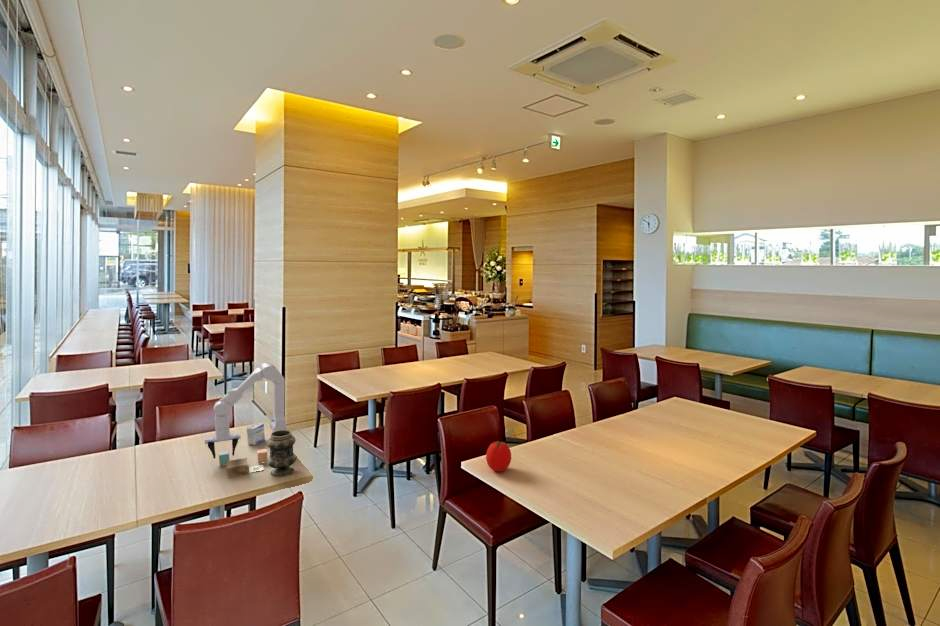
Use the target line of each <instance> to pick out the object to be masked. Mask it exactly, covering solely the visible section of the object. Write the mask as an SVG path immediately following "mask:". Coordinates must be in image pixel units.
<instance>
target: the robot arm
mask: <svg viewBox="0 0 940 626" xmlns="http://www.w3.org/2000/svg"><path fill="white" fill-rule="evenodd" d="M264 379H265V380H268V381H271V382H272V383H273V405H272V407H273V413H272V417H271V421H270V423H269V427H270V429H271V430H272V431H271V433H272V432H274V431H277V430H288V426H287V424H286V418H285V395H286V393H285V387H286V384H285V380H286V379H285V378H284V376H283V374H282V373H281V372H280V371H279V369H278V368H277V367H276V366H274V365H273V364H272V363H269V362H262V363H261V364H260V365H259V367H257V368H255V370H253V371H252V372H251V374H250V375H248V376H247V377H246V379H244V381H243V382H241V384H240V385H238V387H236V388H231V389H229V390H227V393H226V394H225V395H224V396H223V397H222V398H220V399H219V400H218V401H216V402H215V403H214V405H213V407H212V408H213V411H214V431H215V436H211V437H209V438H204V445H207V448H208V449H209V450H210V452H211V454H212V456H213V459H216V450H215V449H216V448H215V443H219V442H225V441H226V442H229V441H231V447H232V451H231V452H232V457H233V456H235V451H236V447H237V446H238V442H239V440H241V433H236V434H235V433H234V434H233V433H230V432H231V431H230V417H229V412H230V409H231V408H233V407H234V406H235V404H237V403H238V402H239V401H240V400H241V399H242V398H243V393H244V392H245V391H247V390H248V389H249V388H250V387H251V386H253V385H254V384H255V383H256V382H260V381H264Z"/></svg>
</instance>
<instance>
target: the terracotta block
mask: <svg viewBox="0 0 940 626" xmlns="http://www.w3.org/2000/svg"><path fill="white" fill-rule="evenodd" d="M267 459H268V449H267V448H263V449H257V464H258V463H260V464H263V463H262V462H266V463H267Z"/></svg>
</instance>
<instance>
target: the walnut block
mask: <svg viewBox="0 0 940 626" xmlns="http://www.w3.org/2000/svg"><path fill="white" fill-rule="evenodd" d="M226 472H227V473H226V477H227V476H231V477H235V476H234V475H236V476H241V475H240V474H242V475H247V474H246V473H248V474H249V466H248V458H247V457H245V458H238V459H232V460H231V459H230V461H227V465H226Z"/></svg>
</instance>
